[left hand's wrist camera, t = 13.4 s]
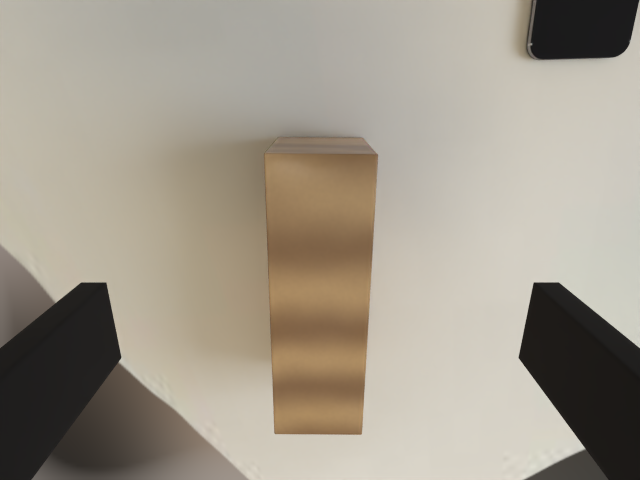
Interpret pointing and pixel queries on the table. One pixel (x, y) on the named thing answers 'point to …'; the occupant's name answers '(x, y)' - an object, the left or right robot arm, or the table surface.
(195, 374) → the table surface
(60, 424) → the left robot arm
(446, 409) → the table surface
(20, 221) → the table surface
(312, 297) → the box
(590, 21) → the smartphone
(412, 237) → the table surface
